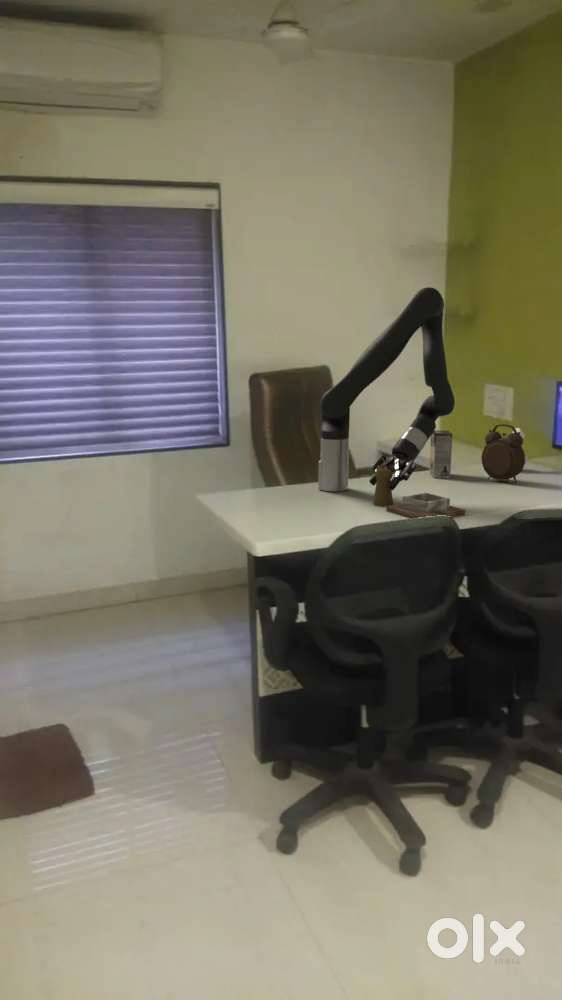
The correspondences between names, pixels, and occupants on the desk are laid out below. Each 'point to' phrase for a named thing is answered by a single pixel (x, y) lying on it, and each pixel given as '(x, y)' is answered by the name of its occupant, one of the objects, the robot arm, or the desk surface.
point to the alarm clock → (503, 454)
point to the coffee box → (440, 454)
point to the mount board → (425, 506)
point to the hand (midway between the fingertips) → (380, 486)
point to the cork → (383, 488)
